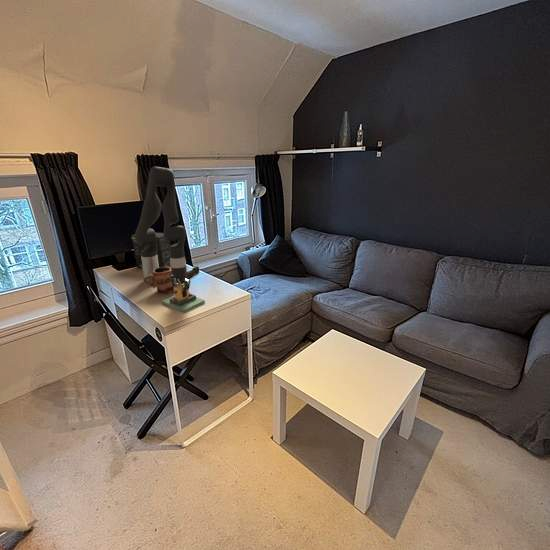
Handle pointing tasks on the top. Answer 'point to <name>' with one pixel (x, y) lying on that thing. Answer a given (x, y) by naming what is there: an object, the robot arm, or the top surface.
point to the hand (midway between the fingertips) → (181, 295)
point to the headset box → (161, 251)
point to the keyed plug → (180, 293)
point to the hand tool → (192, 272)
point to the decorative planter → (161, 280)
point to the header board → (183, 303)
